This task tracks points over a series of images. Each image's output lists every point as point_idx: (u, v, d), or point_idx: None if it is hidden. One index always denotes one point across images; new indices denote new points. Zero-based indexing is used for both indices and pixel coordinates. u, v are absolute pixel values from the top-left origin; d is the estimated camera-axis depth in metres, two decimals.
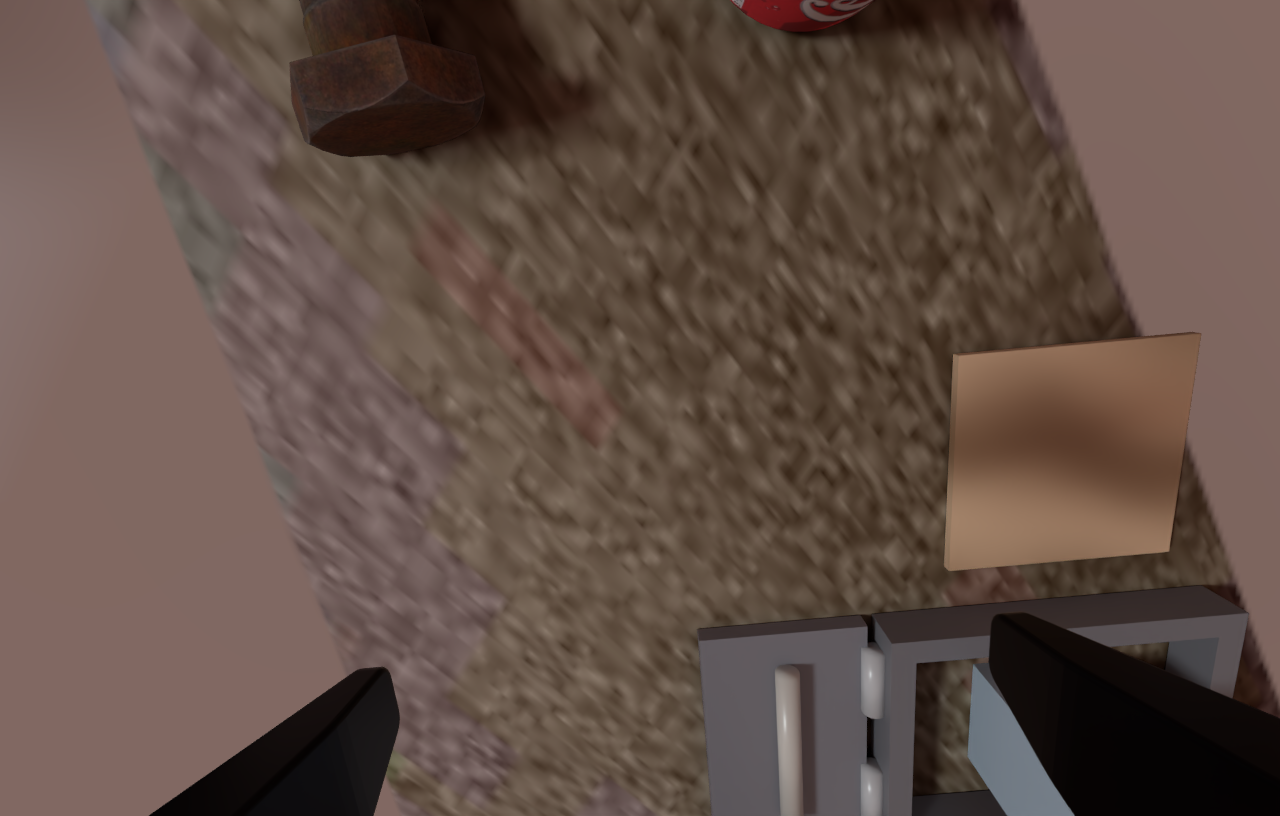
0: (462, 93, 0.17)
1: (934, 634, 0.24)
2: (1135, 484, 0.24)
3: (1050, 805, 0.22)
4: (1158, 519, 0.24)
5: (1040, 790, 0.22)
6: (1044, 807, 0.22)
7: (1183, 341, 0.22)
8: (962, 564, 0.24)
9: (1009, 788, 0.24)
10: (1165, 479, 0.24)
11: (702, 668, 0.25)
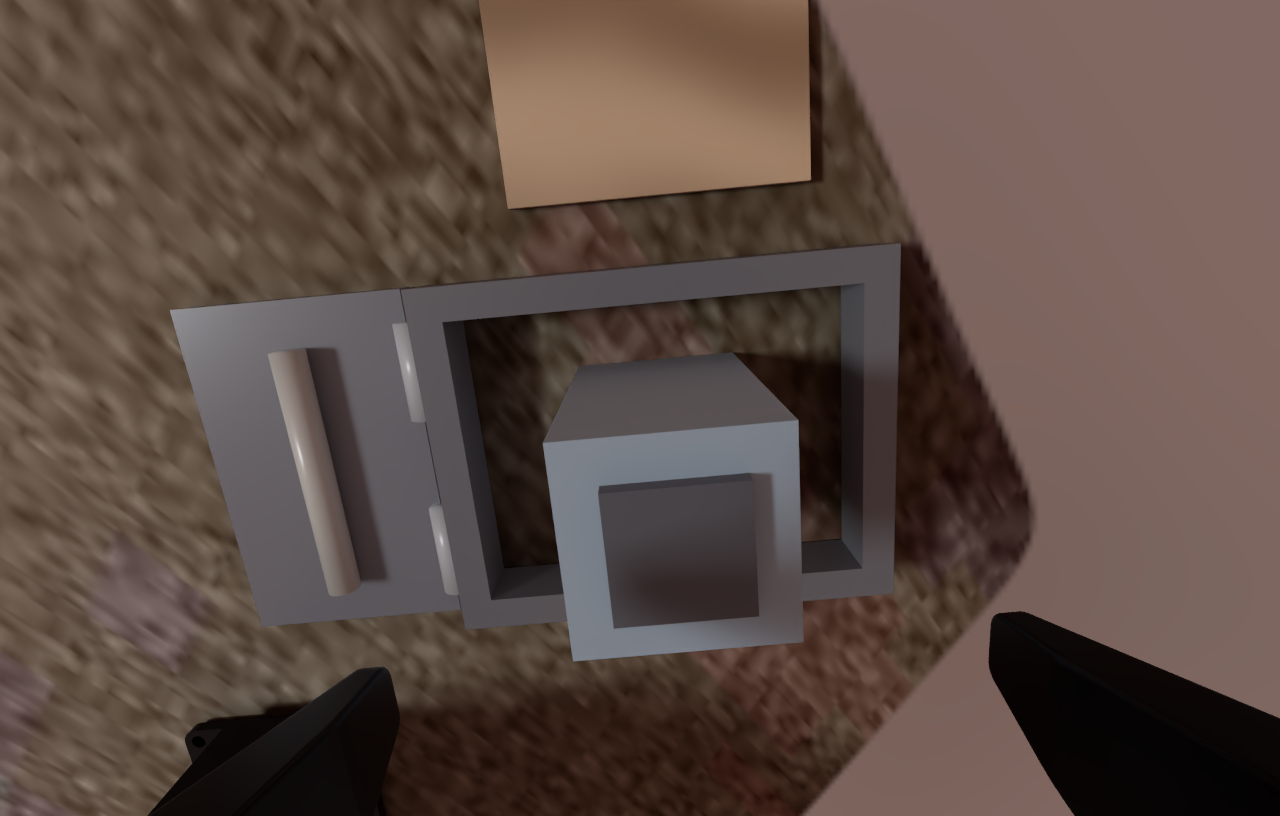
0: None
1: (468, 283, 0.17)
2: (747, 67, 0.17)
3: None
4: (789, 126, 0.17)
5: None
6: None
7: None
8: (525, 198, 0.18)
9: None
10: (789, 59, 0.17)
11: (183, 353, 0.18)
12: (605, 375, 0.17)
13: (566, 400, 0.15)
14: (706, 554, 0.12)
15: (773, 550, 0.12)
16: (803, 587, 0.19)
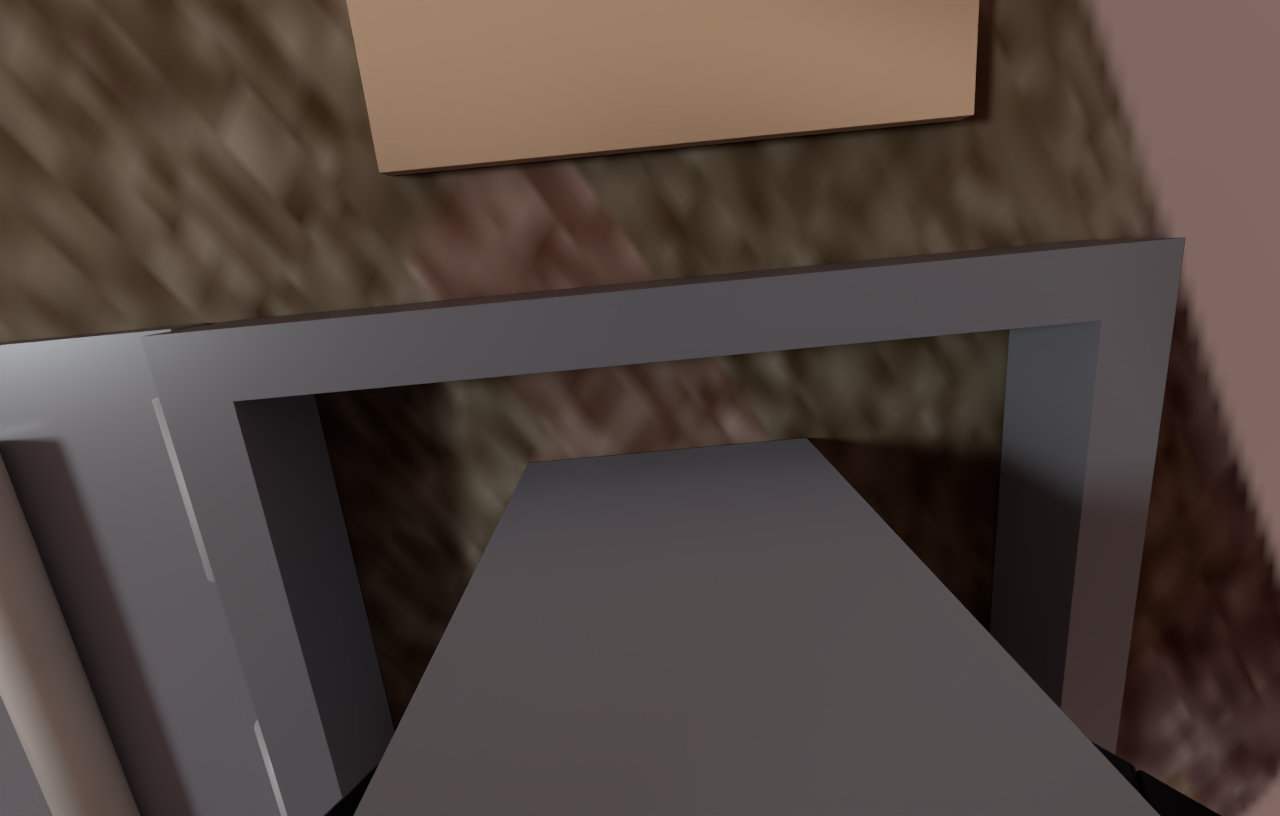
0: None
1: (287, 321, 0.08)
2: None
3: None
4: (936, 3, 0.09)
5: None
6: None
7: None
8: (413, 152, 0.09)
9: None
10: None
11: None
12: (569, 501, 0.09)
13: (462, 613, 0.06)
14: None
15: None
16: None
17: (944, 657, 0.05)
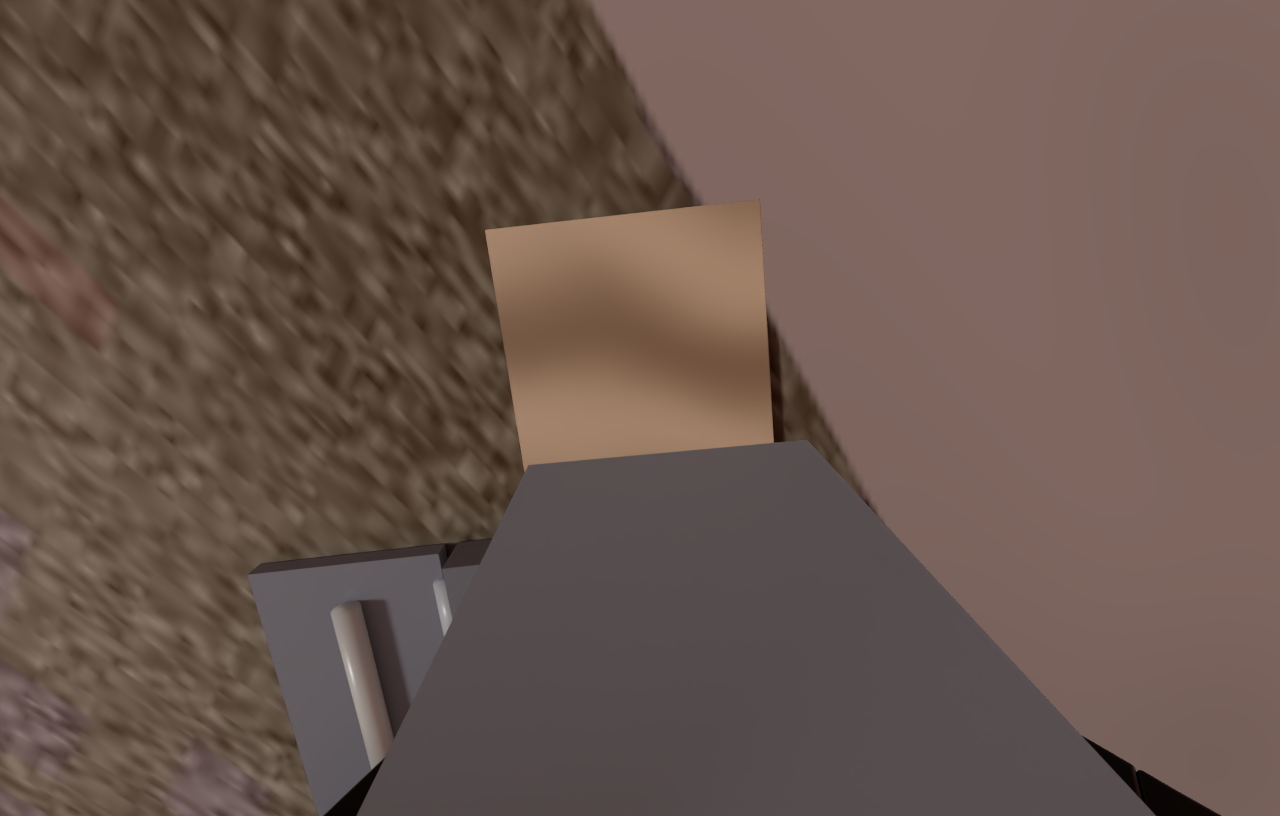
0: None
1: None
2: (720, 380, 0.21)
3: None
4: (755, 422, 0.21)
5: None
6: None
7: (741, 209, 0.19)
8: None
9: None
10: (753, 374, 0.21)
11: (258, 607, 0.22)
12: (570, 503, 0.09)
13: (462, 616, 0.06)
14: None
15: None
16: None
17: (945, 661, 0.05)
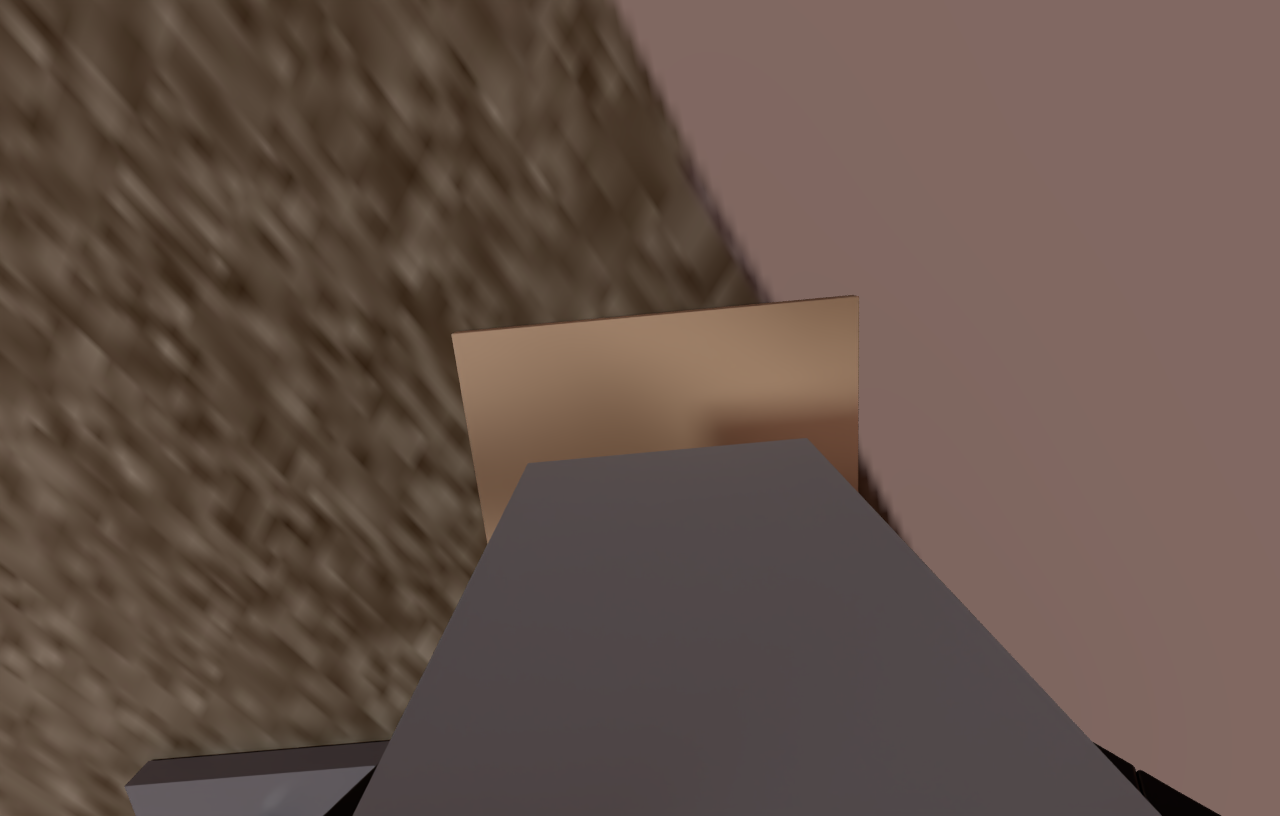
0: None
1: None
2: None
3: None
4: None
5: None
6: None
7: (830, 310, 0.13)
8: None
9: None
10: None
11: None
12: (569, 501, 0.09)
13: (461, 613, 0.06)
14: None
15: None
16: None
17: (946, 658, 0.05)
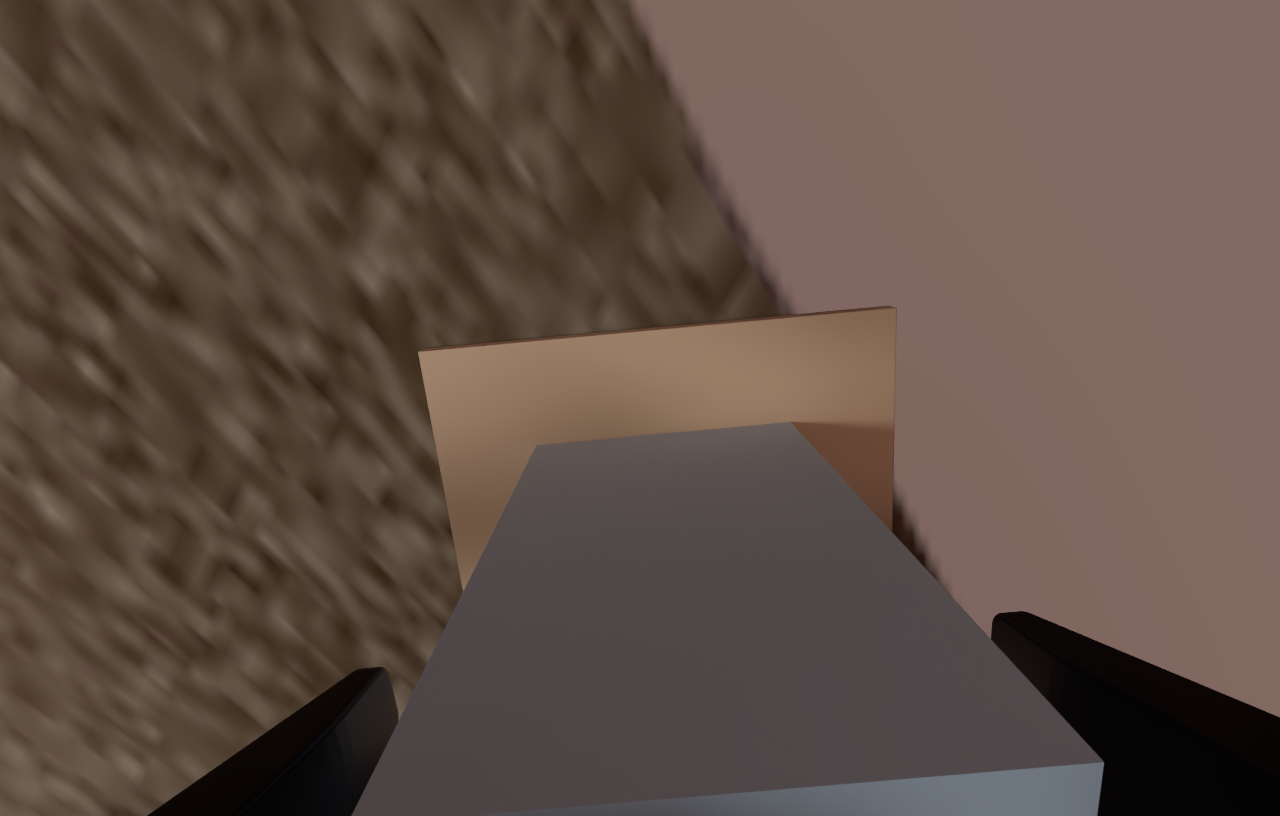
0: None
1: None
2: None
3: None
4: None
5: None
6: None
7: (862, 323, 0.11)
8: None
9: None
10: None
11: None
12: (575, 476, 0.10)
13: (484, 564, 0.07)
14: None
15: None
16: None
17: (889, 589, 0.06)
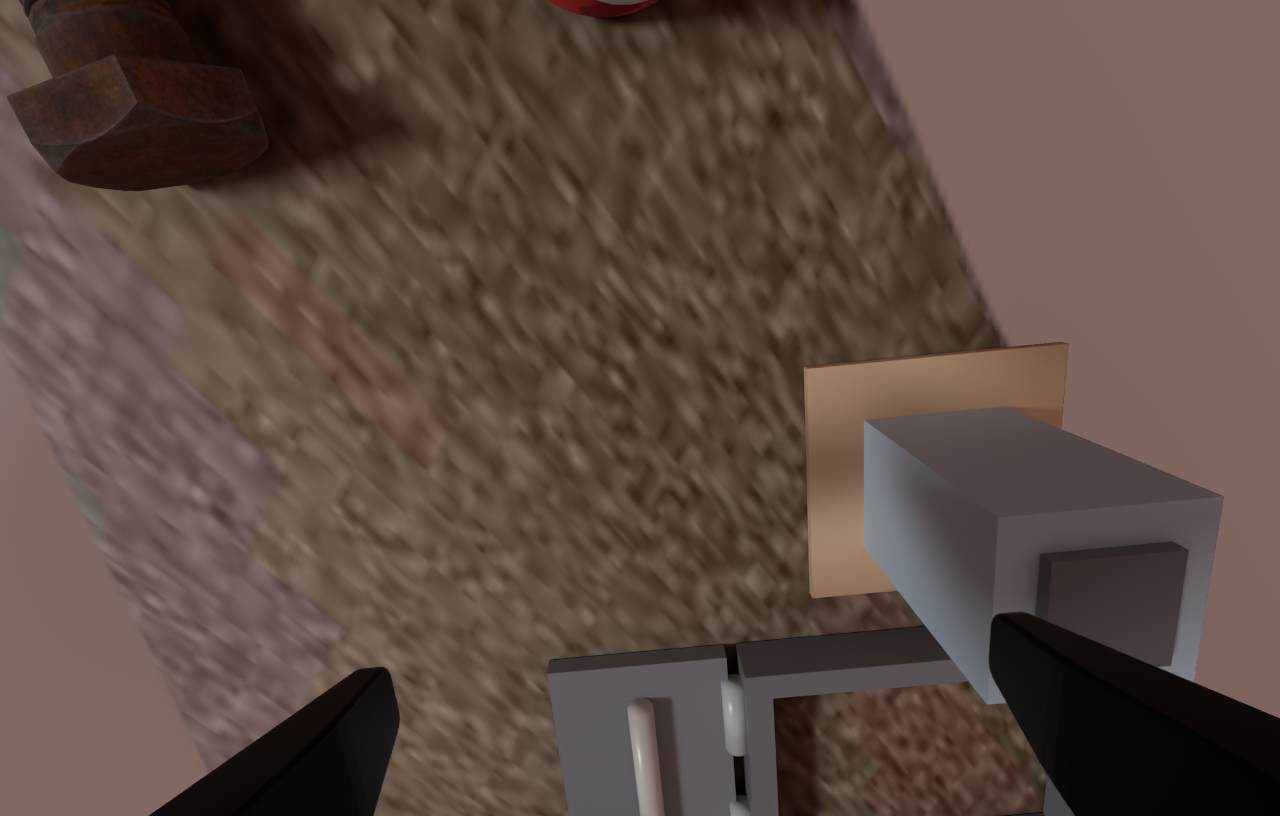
0: (223, 110, 0.16)
1: (792, 667, 0.22)
2: None
3: (935, 537, 0.16)
4: None
5: (925, 526, 0.17)
6: (930, 545, 0.17)
7: (1049, 352, 0.20)
8: (827, 591, 0.23)
9: (898, 553, 0.19)
10: None
11: (552, 702, 0.23)
12: (915, 433, 0.19)
13: (928, 464, 0.17)
14: (1135, 614, 0.13)
15: (1181, 607, 0.14)
16: None
17: (1124, 465, 0.15)
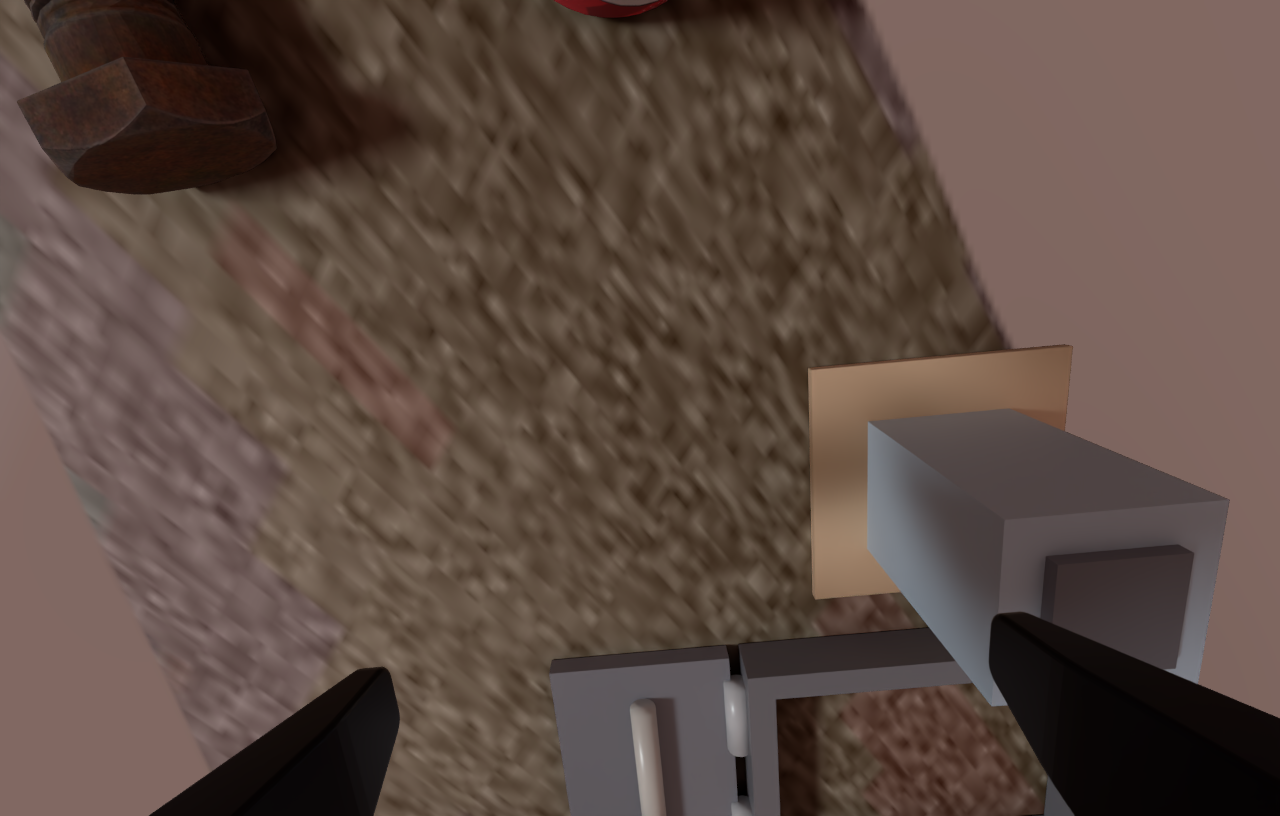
0: (231, 112, 0.16)
1: (794, 668, 0.22)
2: None
3: (939, 539, 0.16)
4: None
5: (930, 528, 0.17)
6: (935, 547, 0.17)
7: (1053, 354, 0.20)
8: (830, 592, 0.23)
9: (902, 554, 0.19)
10: None
11: (554, 702, 0.23)
12: (919, 434, 0.19)
13: (934, 466, 0.17)
14: (1140, 616, 0.14)
15: (1186, 610, 0.14)
16: None
17: (1129, 468, 0.15)
